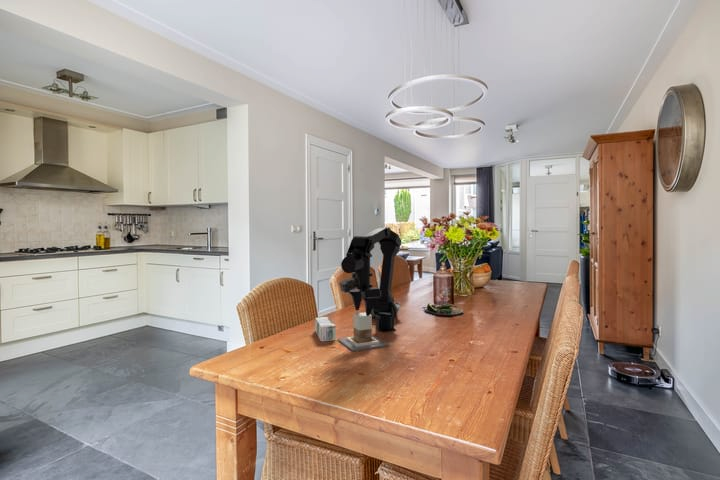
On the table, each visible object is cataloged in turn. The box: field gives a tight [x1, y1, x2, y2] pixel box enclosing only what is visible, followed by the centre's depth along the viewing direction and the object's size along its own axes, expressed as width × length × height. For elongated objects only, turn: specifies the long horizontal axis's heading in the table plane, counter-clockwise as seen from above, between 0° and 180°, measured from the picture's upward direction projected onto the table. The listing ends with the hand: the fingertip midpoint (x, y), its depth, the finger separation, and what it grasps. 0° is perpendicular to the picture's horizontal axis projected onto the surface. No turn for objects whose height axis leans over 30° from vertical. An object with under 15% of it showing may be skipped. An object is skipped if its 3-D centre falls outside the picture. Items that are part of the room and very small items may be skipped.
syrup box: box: [314, 316, 337, 342], centre depth 147 cm, size 6×6×14 cm
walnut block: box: [353, 327, 373, 343], centre depth 138 cm, size 5×5×5 cm
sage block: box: [353, 311, 373, 330], centre depth 138 cm, size 5×5×5 cm
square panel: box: [337, 334, 390, 353], centre depth 138 cm, size 14×14×1 cm
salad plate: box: [422, 302, 464, 318], centre depth 187 cm, size 19×18×5 cm
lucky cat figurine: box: [370, 298, 402, 319], centre depth 176 cm, size 15×12×14 cm
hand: (362, 312), depth 137 cm, fingers open, 9 cm apart
